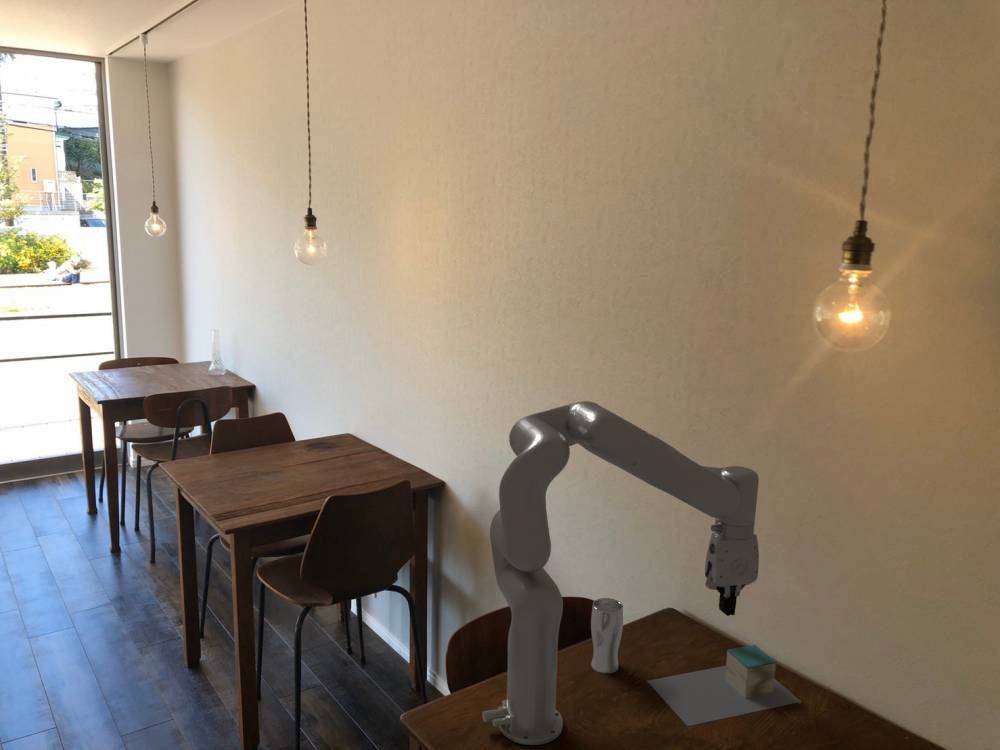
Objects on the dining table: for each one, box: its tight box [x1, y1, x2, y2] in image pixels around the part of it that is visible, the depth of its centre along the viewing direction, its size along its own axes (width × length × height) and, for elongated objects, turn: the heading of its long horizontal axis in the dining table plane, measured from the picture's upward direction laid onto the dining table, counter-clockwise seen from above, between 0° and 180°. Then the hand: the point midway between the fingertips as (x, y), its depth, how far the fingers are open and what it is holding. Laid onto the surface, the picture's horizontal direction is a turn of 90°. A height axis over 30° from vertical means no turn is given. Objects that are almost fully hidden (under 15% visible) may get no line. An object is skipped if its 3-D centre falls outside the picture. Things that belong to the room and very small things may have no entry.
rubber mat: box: [646, 665, 802, 727], centre depth 163 cm, size 27×16×1 cm, turn 109°
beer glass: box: [590, 597, 624, 674], centre depth 170 cm, size 7×7×15 cm
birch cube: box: [725, 644, 777, 698], centre depth 164 cm, size 7×7×7 cm
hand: (726, 612), depth 159 cm, fingers closed
